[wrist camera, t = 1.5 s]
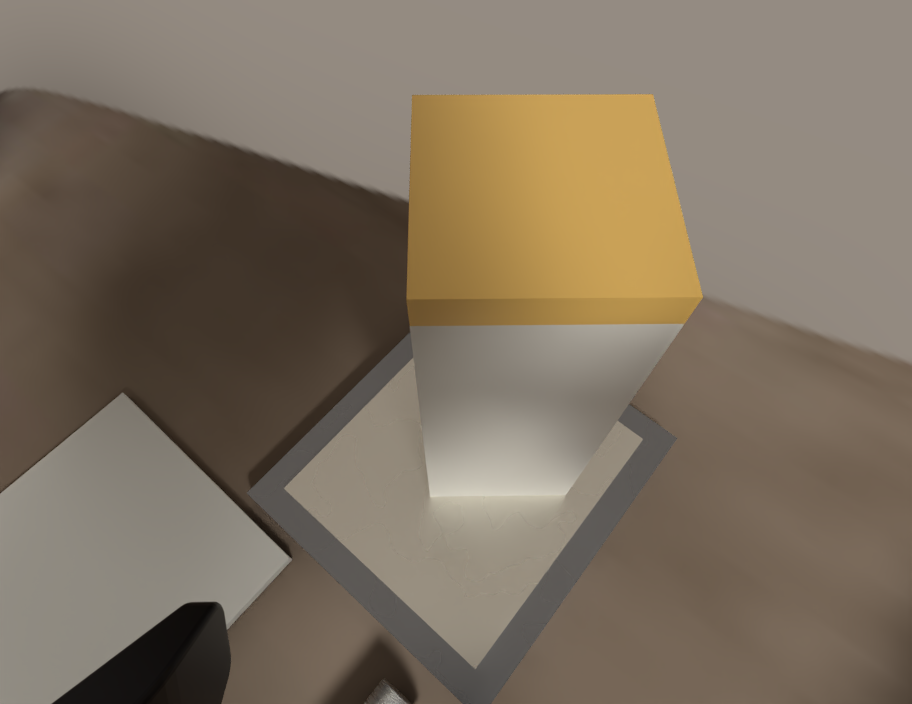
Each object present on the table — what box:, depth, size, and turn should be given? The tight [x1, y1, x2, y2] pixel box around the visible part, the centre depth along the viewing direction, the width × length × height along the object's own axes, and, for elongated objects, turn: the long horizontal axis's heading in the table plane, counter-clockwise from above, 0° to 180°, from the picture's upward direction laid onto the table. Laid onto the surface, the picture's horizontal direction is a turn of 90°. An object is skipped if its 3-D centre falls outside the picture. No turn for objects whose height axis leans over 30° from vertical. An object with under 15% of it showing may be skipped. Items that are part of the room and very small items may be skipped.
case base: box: [247, 333, 677, 704], centre depth 21 cm, size 11×10×1 cm
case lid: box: [0, 393, 292, 704], centre depth 19 cm, size 9×9×1 cm
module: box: [406, 94, 703, 497], centre depth 15 cm, size 4×4×12 cm
